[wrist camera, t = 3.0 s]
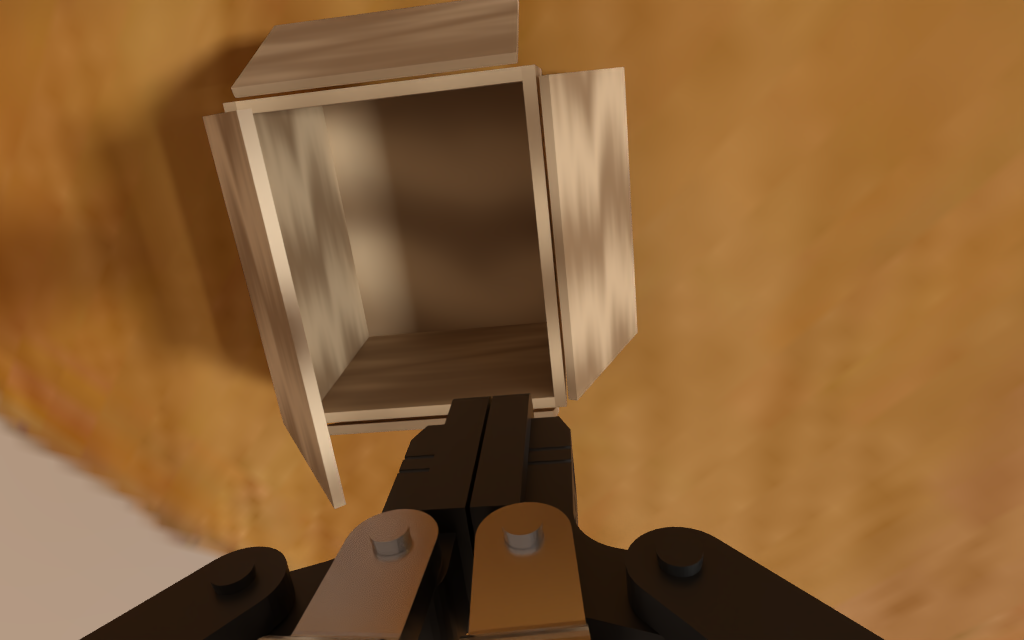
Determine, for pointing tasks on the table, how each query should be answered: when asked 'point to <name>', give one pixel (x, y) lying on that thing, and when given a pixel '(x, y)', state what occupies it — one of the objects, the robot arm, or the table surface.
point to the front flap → (272, 290)
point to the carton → (445, 211)
